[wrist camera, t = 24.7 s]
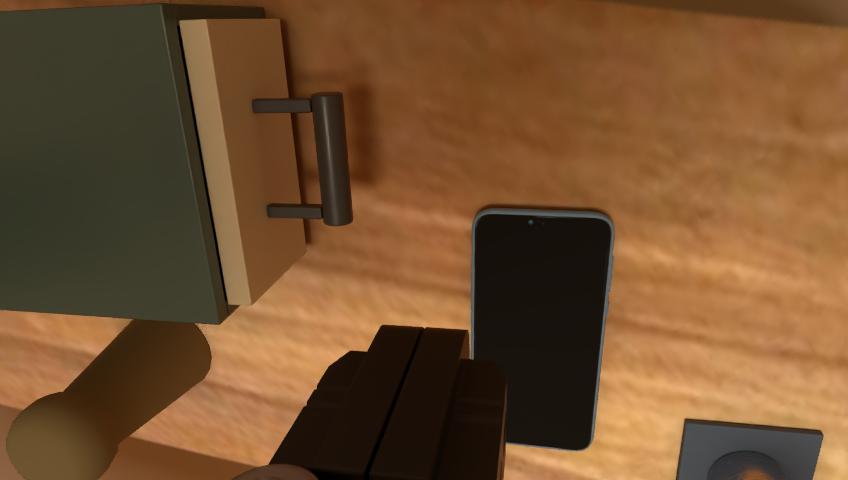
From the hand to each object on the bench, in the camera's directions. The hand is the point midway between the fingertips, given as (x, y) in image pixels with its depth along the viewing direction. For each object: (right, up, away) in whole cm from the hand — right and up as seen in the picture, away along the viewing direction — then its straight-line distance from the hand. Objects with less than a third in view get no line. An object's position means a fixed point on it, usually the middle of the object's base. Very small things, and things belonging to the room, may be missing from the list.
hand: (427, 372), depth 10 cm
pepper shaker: (-17, -5, +29) cm, 34 cm away
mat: (+18, -11, +23) cm, 32 cm away
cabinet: (-15, +8, +23) cm, 28 cm away
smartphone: (+6, -3, +23) cm, 24 cm away
